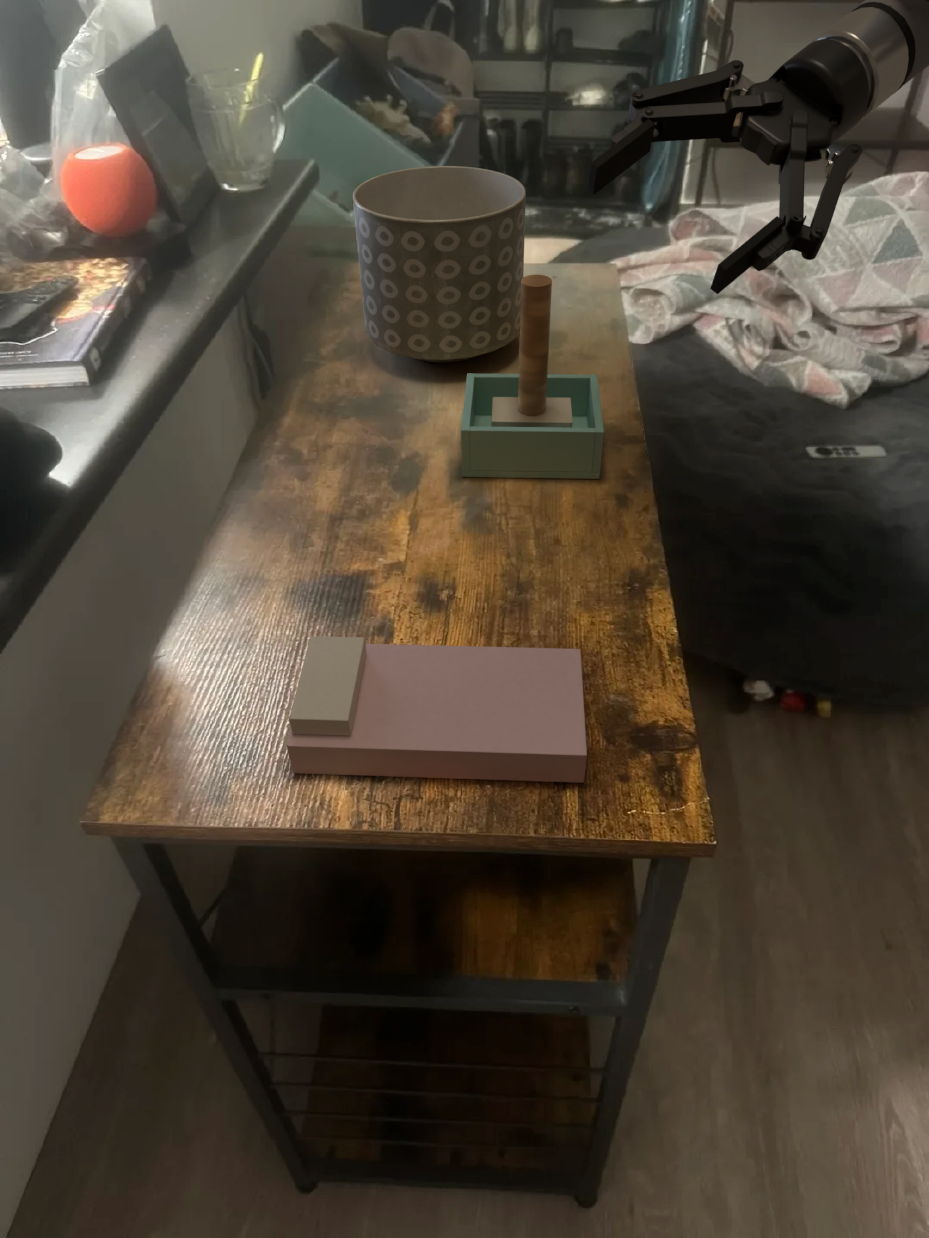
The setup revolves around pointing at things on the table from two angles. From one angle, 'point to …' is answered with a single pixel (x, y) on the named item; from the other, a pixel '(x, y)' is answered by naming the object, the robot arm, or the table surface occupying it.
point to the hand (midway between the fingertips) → (652, 228)
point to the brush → (533, 366)
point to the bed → (439, 712)
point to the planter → (441, 260)
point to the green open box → (532, 431)
